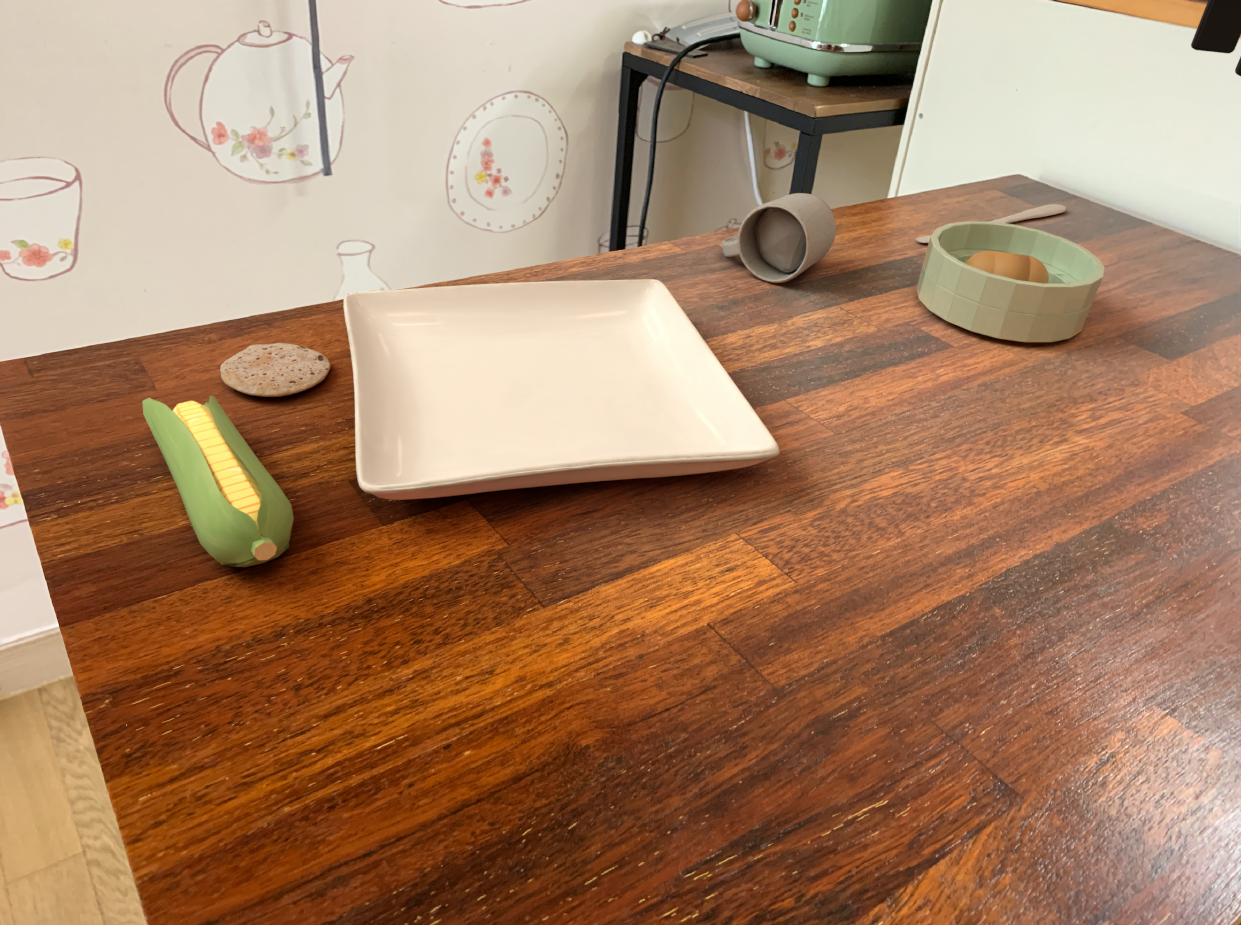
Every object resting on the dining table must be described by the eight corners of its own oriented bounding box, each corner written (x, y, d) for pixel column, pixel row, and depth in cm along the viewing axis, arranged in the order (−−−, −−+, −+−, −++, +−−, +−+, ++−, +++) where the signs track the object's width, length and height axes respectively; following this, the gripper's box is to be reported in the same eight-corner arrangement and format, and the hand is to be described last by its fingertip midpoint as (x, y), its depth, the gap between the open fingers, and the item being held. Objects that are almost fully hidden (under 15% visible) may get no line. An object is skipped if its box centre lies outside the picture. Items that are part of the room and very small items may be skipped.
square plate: (363, 539, 56) (357, 487, 54) (346, 330, 77) (341, 287, 75) (777, 491, 63) (787, 443, 61) (657, 311, 84) (661, 271, 82)
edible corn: (223, 602, 51) (208, 538, 48) (137, 426, 64) (122, 368, 61) (316, 570, 53) (307, 508, 51) (215, 408, 66) (204, 351, 64)
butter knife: (1077, 210, 114) (1057, 200, 116) (929, 246, 101) (909, 235, 103) (1075, 214, 115) (1055, 205, 116) (927, 251, 102) (907, 240, 104)
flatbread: (350, 377, 71) (349, 366, 70) (261, 413, 66) (259, 401, 65) (288, 340, 75) (286, 328, 74) (199, 371, 70) (197, 360, 69)
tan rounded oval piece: (1033, 305, 91) (1046, 256, 90) (1047, 313, 87) (1061, 261, 85) (950, 294, 92) (961, 245, 90) (959, 301, 87) (972, 249, 86)
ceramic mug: (833, 267, 95) (848, 193, 91) (801, 293, 90) (815, 215, 85) (741, 242, 100) (751, 170, 95) (704, 264, 94) (713, 189, 90)
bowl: (1061, 289, 95) (1082, 233, 92) (1098, 359, 83) (1124, 297, 79) (909, 268, 97) (924, 212, 93) (922, 334, 84) (940, 272, 81)
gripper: (1485, -210, 54) (1335, 95, 64) (1347, -202, 68) (1242, 47, 78) (1348, -220, 55) (1221, 83, 65) (1240, -211, 69) (1149, 37, 79)
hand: (1233, 63), depth 72 cm, fingers open, 9 cm apart
